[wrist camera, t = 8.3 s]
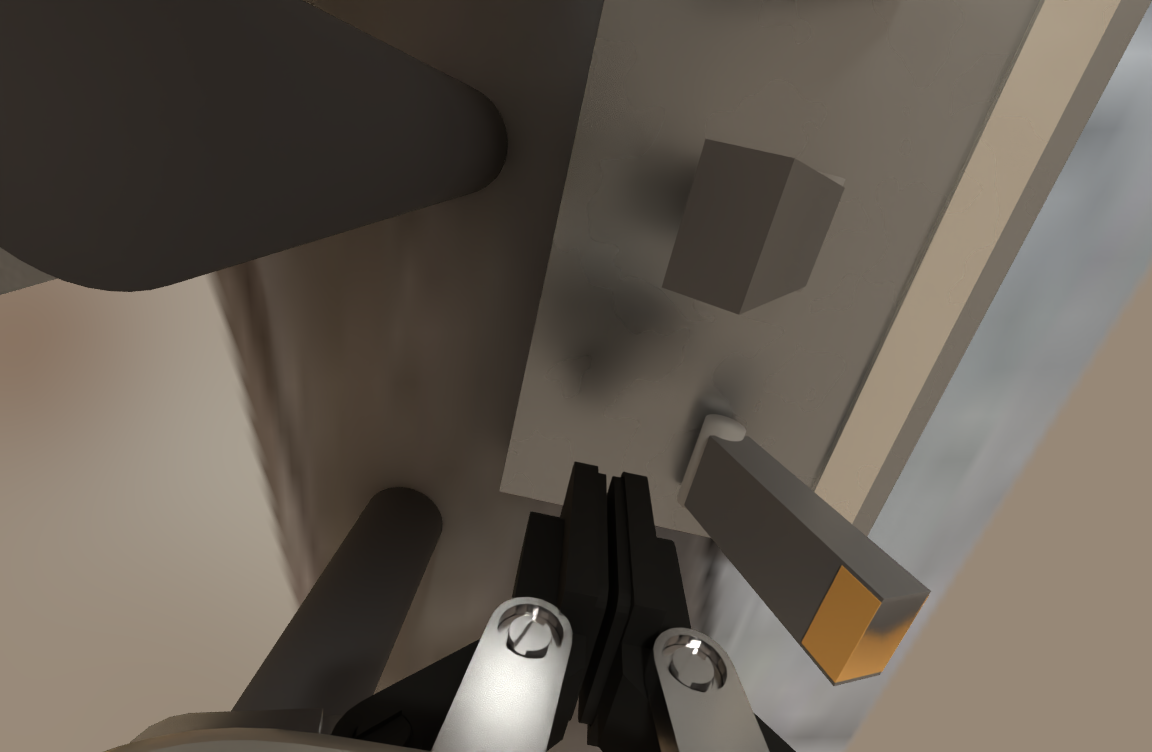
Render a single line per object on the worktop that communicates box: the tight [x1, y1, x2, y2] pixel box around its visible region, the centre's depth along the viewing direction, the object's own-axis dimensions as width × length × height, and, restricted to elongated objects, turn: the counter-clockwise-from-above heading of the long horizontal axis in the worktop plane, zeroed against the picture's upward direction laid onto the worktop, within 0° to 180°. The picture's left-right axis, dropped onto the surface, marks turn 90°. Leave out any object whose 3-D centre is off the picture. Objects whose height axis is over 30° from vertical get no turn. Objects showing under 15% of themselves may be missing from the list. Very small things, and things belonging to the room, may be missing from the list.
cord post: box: [231, 488, 442, 715], centre depth 16 cm, size 3×3×13 cm
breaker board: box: [500, 0, 1152, 538], centre depth 16 cm, size 20×12×3 cm, turn 167°
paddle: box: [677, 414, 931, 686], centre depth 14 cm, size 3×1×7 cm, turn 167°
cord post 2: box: [0, 0, 507, 292], centre depth 10 cm, size 3×3×13 cm
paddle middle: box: [662, 139, 846, 315], centre depth 12 cm, size 3×1×7 cm, turn 167°
